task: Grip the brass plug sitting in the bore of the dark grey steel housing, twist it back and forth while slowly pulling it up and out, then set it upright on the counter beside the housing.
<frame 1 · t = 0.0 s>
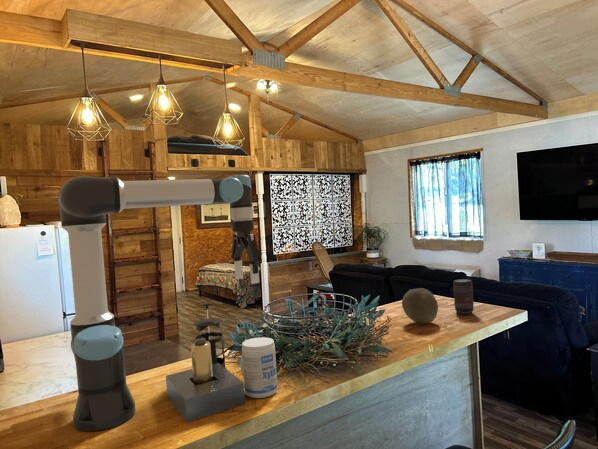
hand: (247, 281, 151), 28 cm above the counter, tool pointing down, fingers open, 13 cm apart
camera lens: (464, 314, 193), on the counter
cantaloupe: (421, 324, 182), on the counter
housing: (204, 399, 122), on the counter
supplement tub: (261, 392, 125), on the counter
french press: (211, 371, 144), on the counter
end plug: (204, 400, 122), resting in housing
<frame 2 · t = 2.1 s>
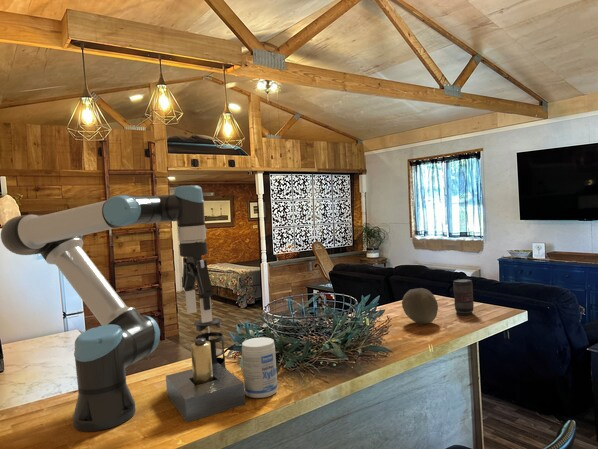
hand: (199, 317, 121), 24 cm above the counter, tool pointing down, fingers open, 13 cm apart
nothing on the counter moved.
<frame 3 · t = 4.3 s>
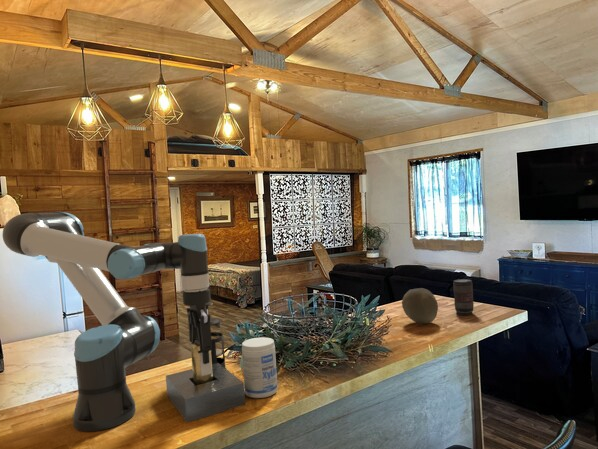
hand: (202, 370, 122), 8 cm above the counter, tool pointing down, fingers closed on end plug, 5 cm apart
end plug: (204, 400, 122), resting in housing, touching gripper
everything else where it was.
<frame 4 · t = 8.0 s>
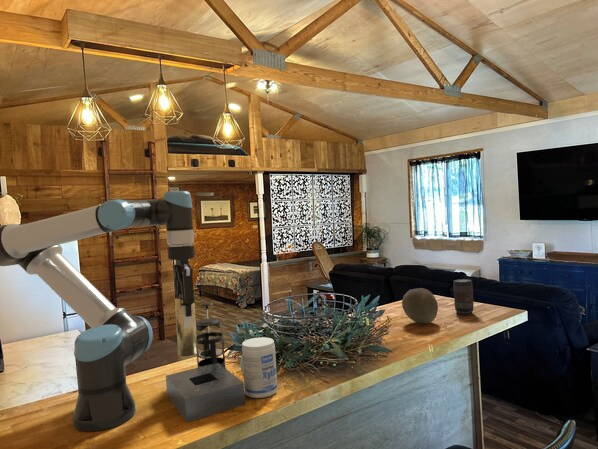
hand: (185, 324, 125), 21 cm above the counter, tool pointing down, fingers closed on end plug, 5 cm apart
end plug: (187, 353, 126), point 12 cm above the counter, touching gripper
everything else where it was.
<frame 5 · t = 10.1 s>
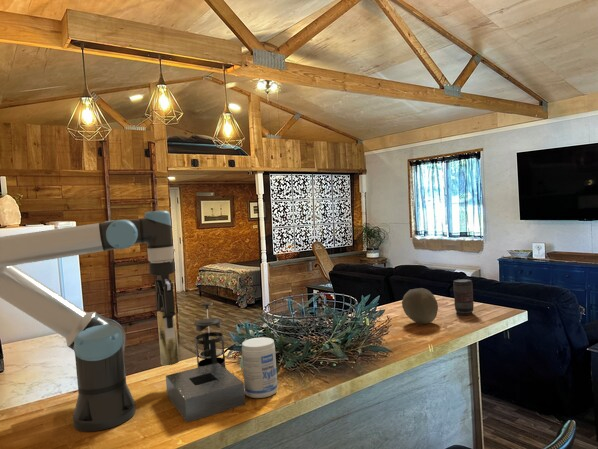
hand: (167, 335, 134), 16 cm above the counter, tool pointing down, fingers closed on end plug, 5 cm apart
end plug: (170, 362, 134), point 7 cm above the counter, touching gripper
everything else where it was.
when the fingers open (10 cm above the counter, at t = 11.9 s): end plug drops 1 cm, on the counter.
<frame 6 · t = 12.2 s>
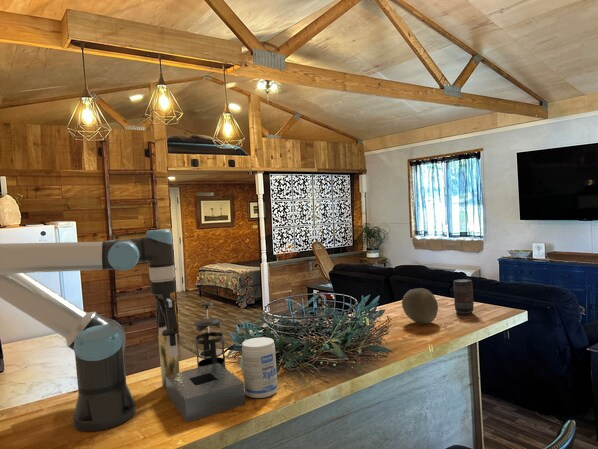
hand: (168, 351, 134), 11 cm above the counter, tool pointing down, fingers open, 10 cm apart
end plug: (171, 385, 134), on the counter
everything else where it was.
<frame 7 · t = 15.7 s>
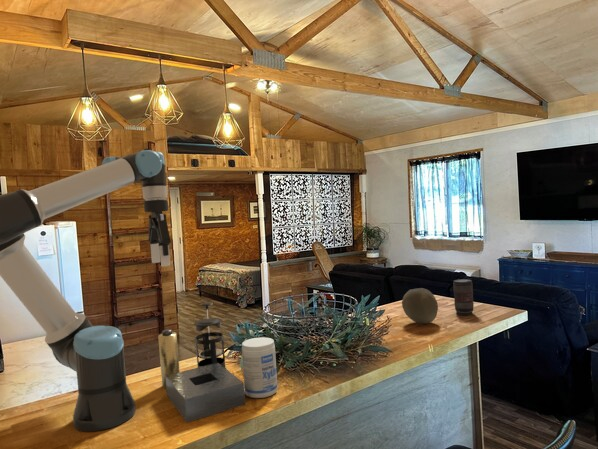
hand: (160, 264, 142), 37 cm above the counter, tool pointing down, fingers open, 13 cm apart
nothing on the counter moved.
at the end: end plug inside the target area (0.0 cm from its centre), on the counter; end plug tilted 0°; end plug touching counter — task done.
